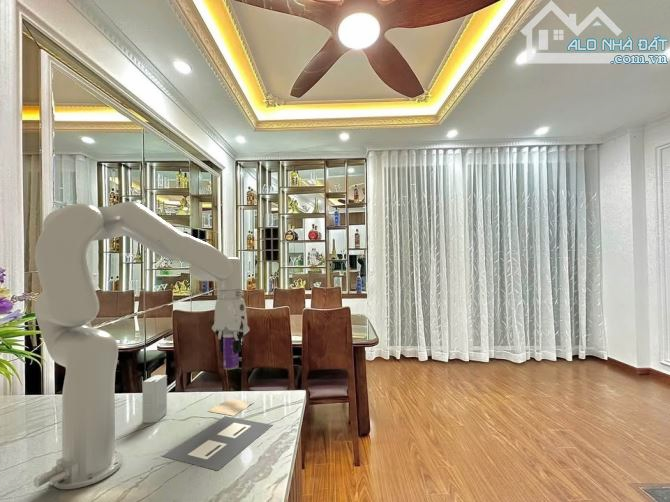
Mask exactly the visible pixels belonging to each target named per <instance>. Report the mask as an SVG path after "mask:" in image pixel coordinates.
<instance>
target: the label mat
mask: <svg viewBox="0 0 670 502" xmlns="http://www.w3.org/2000/svg"><path fill="white" fill-rule="evenodd" d="M272 426H273V424H271V423H265V422H259V421H253V420H248V419H243V418H237V417H236V418H235V417H233V416H232V417H231V416H228V415H224V416H223V417H221V418H219V419H218V420H216V421H214V422H213V423H212V424H210V425H208V426H207V427H206V428H204V429H202V430H200V431H199V432H198V433H196V434H195V435H193V436H191V437H190V438H188V439H186V440H185V441H183V442H182V443H180V444H178V445H177V446H175V447H174V448H172V449H171V450H169V451H167V452H166V453H164V454H163V455H162V457H164V458H166V459H167V458H168V459H172V460H175V461H179V462H183V463H186V464H191V465H195V466H198V467H202V468H206V469H210V470H213V471H217V472H218V471H219V470H220V469H222V468H223V467H224V466H225V465H227V464H228V463H230V461H231V460H233V459H234V458H235V457H236V456H238V455H239V454H240V453H241V452H242V451H244V450H245V449H246V448H247V447H249V446H250V445H251V444H252V443H253V442H255V441H256V440H257V439H258V438H260V437H261V435H263V434H264V433H265V432H267V431H268V430H269V429H270V428H271V427H272Z"/></svg>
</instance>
